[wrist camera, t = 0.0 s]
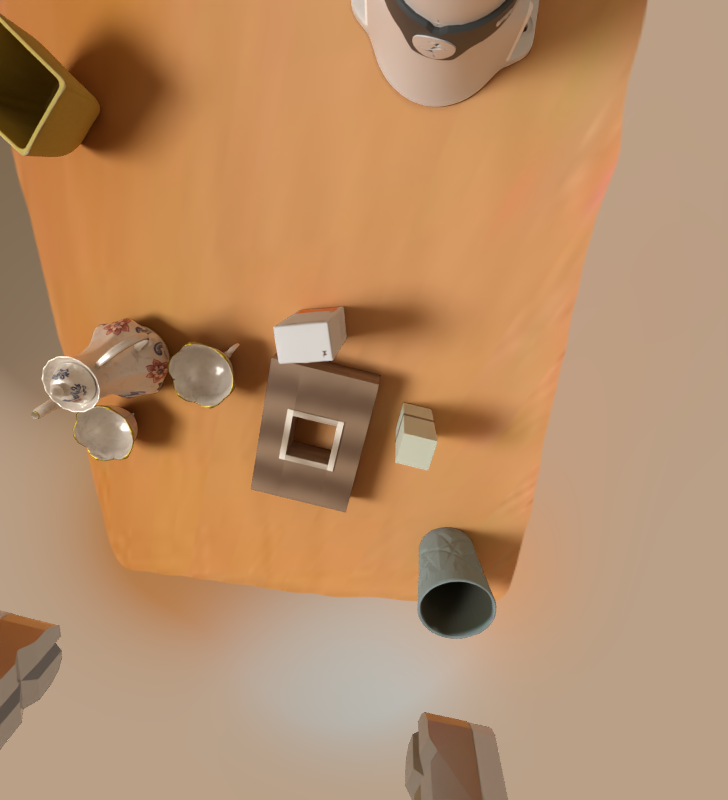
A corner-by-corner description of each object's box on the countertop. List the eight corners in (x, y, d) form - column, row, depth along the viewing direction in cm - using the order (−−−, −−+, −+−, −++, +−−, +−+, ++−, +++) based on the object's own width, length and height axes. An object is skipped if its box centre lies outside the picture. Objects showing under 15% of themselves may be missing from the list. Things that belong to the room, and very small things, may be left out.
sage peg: (403, 401, 58) (403, 432, 48) (431, 409, 58) (438, 441, 48) (395, 428, 59) (394, 462, 50) (423, 435, 59) (428, 471, 50)
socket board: (279, 350, 56) (270, 358, 53) (380, 375, 57) (379, 385, 53) (259, 474, 64) (250, 490, 60) (348, 496, 64) (345, 513, 60)
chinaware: (134, 455, 66) (65, 530, 51) (45, 376, 61) (-62, 434, 46) (267, 359, 59) (231, 414, 44) (180, 258, 53) (105, 282, 38)
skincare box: (344, 304, 54) (329, 321, 43) (347, 337, 55) (334, 362, 44) (297, 308, 54) (271, 326, 43) (302, 341, 56) (278, 365, 45)
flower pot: (85, 171, 51) (23, 158, 42) (22, 112, 49) (-56, 85, 40) (124, 110, 48) (66, 82, 39) (60, 45, 46) (-16, 1, 38)
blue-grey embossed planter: (405, 562, 67) (407, 626, 56) (428, 513, 64) (434, 571, 53) (464, 581, 68) (477, 648, 57) (490, 533, 64) (509, 594, 53)
